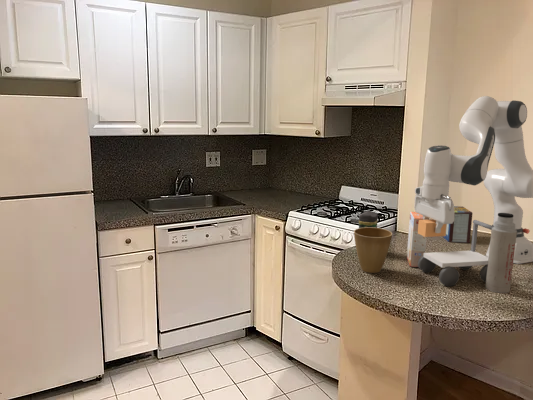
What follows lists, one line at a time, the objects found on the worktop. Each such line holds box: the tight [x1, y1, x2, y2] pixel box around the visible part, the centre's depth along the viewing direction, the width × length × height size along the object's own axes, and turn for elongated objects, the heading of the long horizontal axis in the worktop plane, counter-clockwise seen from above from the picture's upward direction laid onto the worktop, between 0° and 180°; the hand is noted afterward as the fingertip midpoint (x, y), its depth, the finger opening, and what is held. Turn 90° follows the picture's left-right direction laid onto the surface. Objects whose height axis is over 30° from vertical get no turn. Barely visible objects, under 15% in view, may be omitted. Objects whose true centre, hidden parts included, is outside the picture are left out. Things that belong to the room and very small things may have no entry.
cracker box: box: [406, 211, 427, 268], centre depth 192 cm, size 14×6×21 cm, turn 168°
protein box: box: [442, 205, 473, 244], centre depth 231 cm, size 10×15×16 cm
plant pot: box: [353, 227, 393, 274], centre depth 182 cm, size 15×15×16 cm
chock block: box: [418, 218, 447, 238], centre depth 162 cm, size 8×5×5 cm, turn 101°
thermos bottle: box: [485, 213, 517, 294], centre depth 163 cm, size 8×8×28 cm
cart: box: [417, 219, 494, 287], centre depth 175 cm, size 24×17×21 cm
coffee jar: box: [358, 210, 379, 228], centre depth 207 cm, size 10×8×19 cm
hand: (432, 230), depth 162 cm, fingers closed on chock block, 5 cm apart
